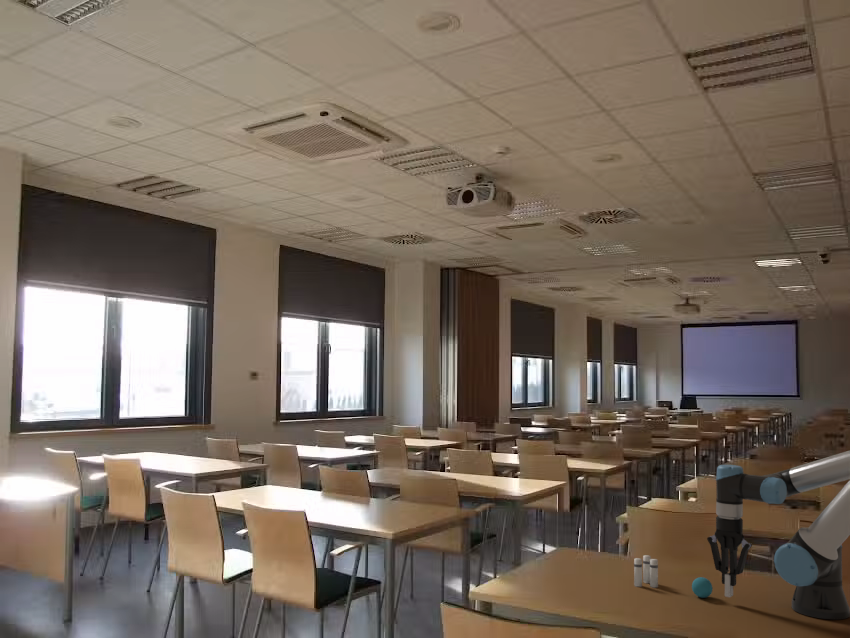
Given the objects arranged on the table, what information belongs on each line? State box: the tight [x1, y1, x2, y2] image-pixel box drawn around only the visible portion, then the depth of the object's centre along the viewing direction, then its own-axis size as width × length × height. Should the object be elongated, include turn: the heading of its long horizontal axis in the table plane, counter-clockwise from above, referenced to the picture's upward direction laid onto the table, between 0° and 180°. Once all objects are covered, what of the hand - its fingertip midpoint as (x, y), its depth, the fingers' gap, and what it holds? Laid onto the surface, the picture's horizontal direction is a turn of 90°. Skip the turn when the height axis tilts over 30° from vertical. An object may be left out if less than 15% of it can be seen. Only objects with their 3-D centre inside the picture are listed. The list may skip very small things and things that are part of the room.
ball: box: [691, 576, 713, 599], centre depth 235 cm, size 6×6×6 cm
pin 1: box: [633, 557, 643, 588], centre depth 246 cm, size 2×2×8 cm
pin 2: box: [642, 554, 652, 584], centre depth 251 cm, size 2×2×8 cm
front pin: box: [649, 558, 659, 589], centre depth 246 cm, size 2×2×8 cm
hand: (728, 595), depth 229 cm, fingers closed
